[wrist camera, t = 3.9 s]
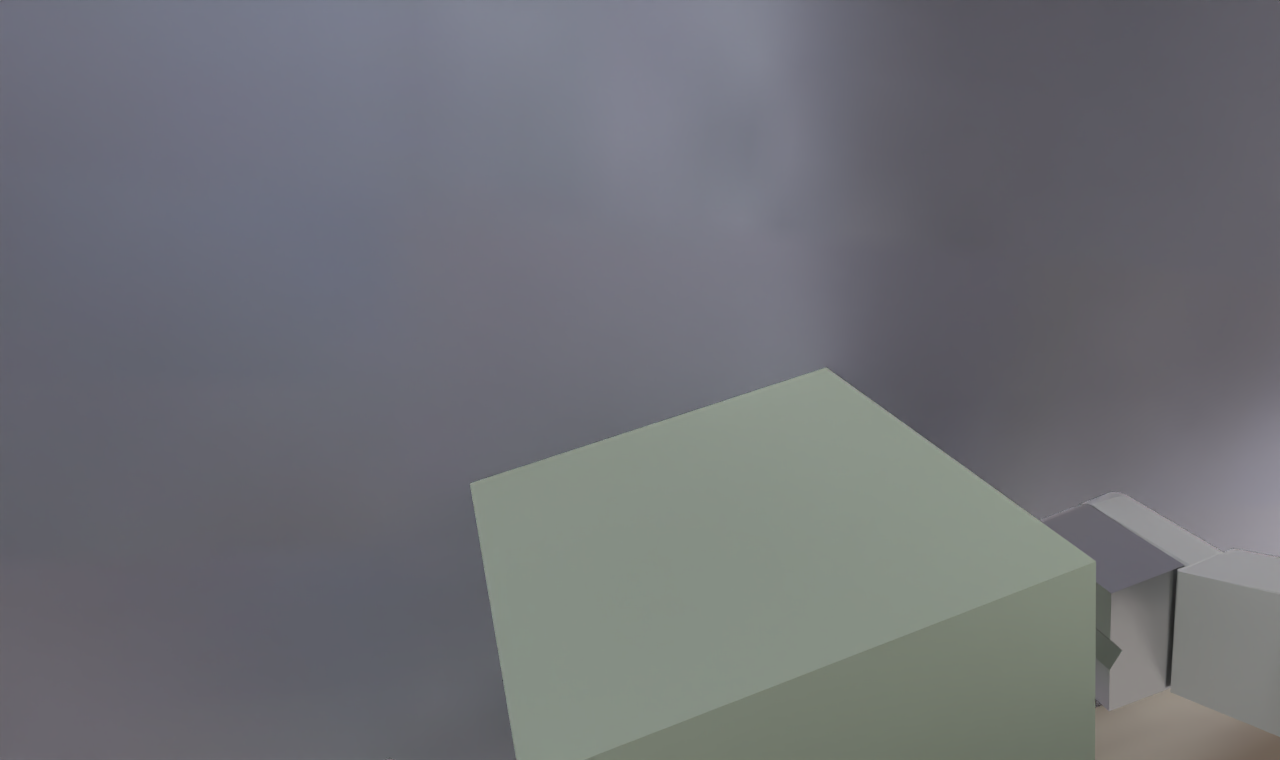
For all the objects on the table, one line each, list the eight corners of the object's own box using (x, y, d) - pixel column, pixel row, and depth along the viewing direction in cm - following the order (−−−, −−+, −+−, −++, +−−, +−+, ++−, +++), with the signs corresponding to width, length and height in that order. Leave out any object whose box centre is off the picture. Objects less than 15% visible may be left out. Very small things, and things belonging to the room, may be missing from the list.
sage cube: (469, 479, 11) (520, 784, 6) (823, 365, 12) (1096, 561, 7) (566, 757, 13) (658, 1137, 8) (862, 643, 14) (1094, 934, 9)
